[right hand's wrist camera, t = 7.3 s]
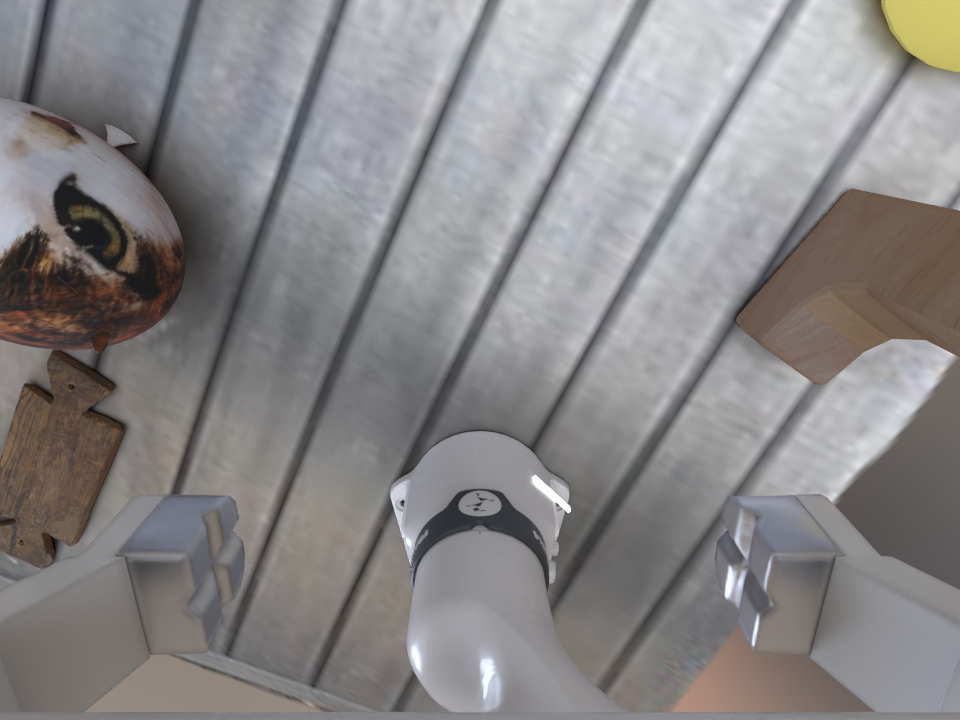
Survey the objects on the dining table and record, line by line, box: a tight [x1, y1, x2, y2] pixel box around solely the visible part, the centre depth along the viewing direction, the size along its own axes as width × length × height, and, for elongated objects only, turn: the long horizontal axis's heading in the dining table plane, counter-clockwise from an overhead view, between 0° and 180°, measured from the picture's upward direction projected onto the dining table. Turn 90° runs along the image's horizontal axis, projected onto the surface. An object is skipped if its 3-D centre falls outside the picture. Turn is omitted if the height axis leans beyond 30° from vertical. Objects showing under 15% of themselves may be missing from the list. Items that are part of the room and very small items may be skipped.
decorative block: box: [736, 189, 960, 385], centre depth 44 cm, size 8×15×30 cm, turn 145°
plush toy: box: [0, 97, 185, 354], centre depth 48 cm, size 22×18×20 cm
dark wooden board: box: [0, 350, 124, 568], centre depth 64 cm, size 26×2×10 cm
